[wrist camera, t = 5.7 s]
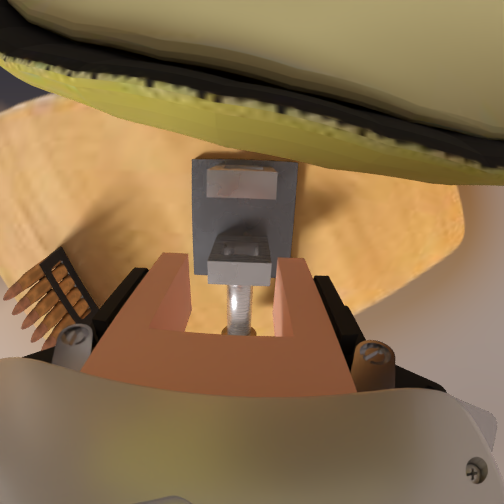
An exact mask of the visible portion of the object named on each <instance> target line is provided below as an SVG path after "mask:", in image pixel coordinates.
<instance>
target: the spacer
mask: <svg viewBox="0 0 504 504" xmlns="http://www.w3.org/2000/svg"><path fill="white" fill-rule="evenodd" d="M191 311H192V307H191V294H190V279H189V262H188V254H182V253H162V255H161V256H160V257H159V258H158V260H157V261H156V262H155V264H154V265H153V266H152V268H151V269H150V270H149V271H148V273H147V274H146V275H145V277H144V278H143V279H142V281H141V282H140V284H139V285H138V286H137V288H136V289H135V290H134V292H133V293H132V294H131V296H130V297H129V299H128V300H127V301H126V303H125V304H124V306H123V307H122V308H121V310H120V311H119V313H118V314H117V316H116V317H115V318H114V320H113V321H112V323H111V324H110V326H109V327H108V329H107V330H106V332H105V333H104V335H103V336H102V338H101V339H100V341H99V342H98V344H97V345H96V347H95V348H94V350H93V351H92V353H91V354H90V356H89V358H88V359H87V361H86V362H85V364H84V365H83V367H82V369H81V370H80V372H83V373H87V374H91V375H95V376H99V377H103V378H107V379H111V380H116V381H121V382H126V383H131V384H136V385H142V386H147V387H154V388H160V389H167V390H174V391H182V392H191V393H200V394H212V395H225V396H246V397H302V396H321V395H336V394H347V393H356V392H357V390H356V387H355V385H354V382H353V379H352V376H351V374H350V371H349V368H348V366H347V363H346V360H345V358H344V355H343V352H342V350H341V347H340V344H339V342H338V339H337V337H336V334H335V332H334V329H333V326H332V324H331V321H330V319H329V316H328V314H327V311H326V309H325V307H324V304H323V302H322V299H321V297H320V294H319V292H318V290H317V287H316V285H315V282H314V280H313V278H312V275H311V273H310V271H309V268H308V266H307V264H306V261H305V259H304V258H281V257H278V260H277V271H276V283H275V293H274V304H273V322H274V332H275V337H272V336H239V335H220V334H205V333H192V332H184V331H185V328H186V325H187V322H188V319H189V316H190V313H191Z"/></svg>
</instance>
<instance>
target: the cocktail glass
mask: <svg viewBox="0 0 504 504" xmlns="http://www.w3.org/2000/svg"><path fill="white" fill-rule="evenodd" d="M0 66H2V67H3V68H4V69H6V70H7V71H8V72H10V73H12V74H13V75H14V76H15V77H17V78H19V79H21V80H23V81H25V82H26V83H29V84H30V85H32V86H35V87H38V88H41V89H43V90H46V91H49V92H52V93H55V94H57V95H60V96H63V97H66V98H69V99H71V100H74V101H77V102H79V103H82V104H85V105H87V106H90V107H93V108H95V109H98V110H100V111H103V112H105V113H108V114H110V115H112V116H115V117H117V118H121V119H124V120H128V121H131V122H135V123H140V124H144V125H148V126H152V127H156V128H160V129H164V130H168V131H172V132H176V133H180V134H183V135H187V136H190V137H194V138H197V139H201V140H204V141H207V142H211V143H214V144H217V145H220V146H224V147H227V148H233V149H239V150H245V151H251V152H256V153H262V154H267V155H272V156H277V157H281V158H286V159H291V160H295V161H299V162H304V163H308V164H312V165H316V166H320V167H324V168H328V169H337V170H346V171H354V172H363V173H370V174H378V175H384V176H391V177H397V178H404V179H409V180H415V181H421V182H426V183H432V184H444V185H498V186H504V0H0Z"/></svg>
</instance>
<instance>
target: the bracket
mask: <svg viewBox="0 0 504 504" xmlns="http://www.w3.org/2000/svg"><path fill="white" fill-rule="evenodd" d="M297 171H298V163H297V162H285V161H268V160H245V159H192V227H193V256H194V275H208V284H225V285H250V286H270V279H271V278H276V271H277V260H278V257H281V258H290V256H291V245H292V235H293V223H294V211H295V199H296V185H297ZM234 254H246V255H250V256H242V255H234Z"/></svg>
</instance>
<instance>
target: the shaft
mask: <svg viewBox="0 0 504 504" xmlns="http://www.w3.org/2000/svg"><path fill="white" fill-rule="evenodd" d="M234 255H242V256H250V255H246V254H234ZM252 294H253V286H250V285H227V327H225V328H224V329H223V330H222V335H239V336H256V331H255V330H254V329H253V328H252V327H251V315H252Z"/></svg>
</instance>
